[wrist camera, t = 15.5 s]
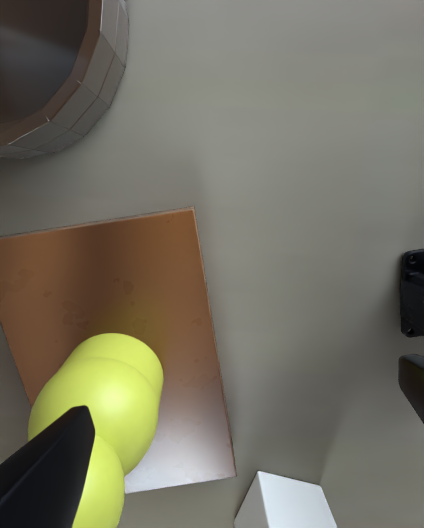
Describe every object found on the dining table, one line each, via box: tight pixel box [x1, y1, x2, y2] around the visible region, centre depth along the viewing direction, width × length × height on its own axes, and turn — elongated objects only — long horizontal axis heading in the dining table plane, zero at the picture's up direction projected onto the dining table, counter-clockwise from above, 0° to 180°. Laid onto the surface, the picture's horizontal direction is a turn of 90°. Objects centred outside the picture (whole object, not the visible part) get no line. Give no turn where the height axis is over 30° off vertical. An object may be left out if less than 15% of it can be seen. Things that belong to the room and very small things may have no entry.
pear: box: [28, 333, 164, 528], centre depth 15 cm, size 7×7×12 cm
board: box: [0, 207, 237, 494], centre depth 22 cm, size 13×20×2 cm, turn 9°
